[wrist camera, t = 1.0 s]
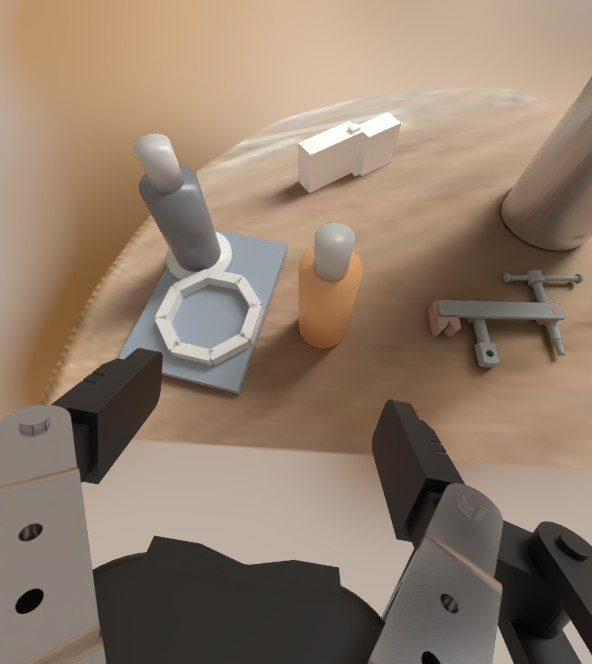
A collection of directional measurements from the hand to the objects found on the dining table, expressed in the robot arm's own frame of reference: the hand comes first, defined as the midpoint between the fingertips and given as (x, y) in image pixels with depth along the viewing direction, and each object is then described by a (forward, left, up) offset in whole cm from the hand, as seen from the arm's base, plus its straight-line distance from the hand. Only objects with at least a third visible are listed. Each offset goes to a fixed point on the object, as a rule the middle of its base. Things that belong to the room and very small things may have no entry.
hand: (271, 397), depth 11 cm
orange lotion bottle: (-11, +1, -16) cm, 19 cm away
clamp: (-16, +17, -16) cm, 29 cm away
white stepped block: (-33, -1, -16) cm, 37 cm away
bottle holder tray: (-11, -10, -16) cm, 22 cm away
